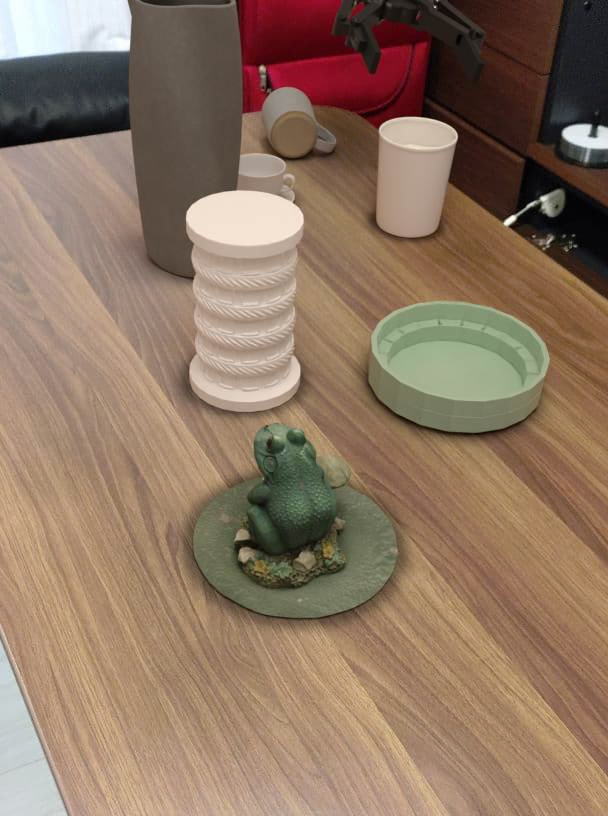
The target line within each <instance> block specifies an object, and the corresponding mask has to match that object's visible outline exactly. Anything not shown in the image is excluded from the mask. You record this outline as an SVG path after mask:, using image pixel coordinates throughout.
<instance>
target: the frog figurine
mask: <svg viewBox="0 0 608 816" xmlns="http://www.w3.org/2000/svg"><path fill="white" fill-rule="evenodd" d="M253 457H254V460H255V462H256V465H257V468H258V470H259V472H260V473H261V474H262V476H261V477H256V478H251V479H248V480H246V481H242V482H241V483H238V484H236V485H234V486H233V487H230V488H228V489H227V490H225V491H223V492H221V493H220V494H219V495H217V496H216V497H215V498H214V499H213V500H212V501H211V502H210V503H209V504H208V505H207V506H206V507H205V508H204V510H203V511H202V512H201V514H200V516H199V518H198V520H197V522H196V524H195V527H194V530H193V536H192V550H193V555H194V559H195V561H196V563H197V566H198V567H199V570H200V571H201V573H202V574H203V576H204V578H206V580H207V581H208V583H209V584H210V585H211V586H212V587H214V588H215V590H217V592H219V593H220V594H222V595H223V596H224V597H226V598H228V599H229V600H231V601H233V602H235V603H236V604H238V605H241V606H243V607H245V608H246V609H249V610H251V611H253V612H255V613H259V614H262V615H266V616H273V617H280V618H281V617H282V618H291V619H293V618H294V619H311V618H312V619H314V618H322V617H327V616H332V615H335V614H338V613H339V614H340V613H342V612H346V611H348V610H351V609H354V608H356V607H357V606H360V605H362V604H364V603H365V602H367V601H368V600H370V599H371V598H373V597H374V596H375V595H376V594H378V593H379V592H380V591H381V590H382V588H383V587H384V586H385V584H386V583H387V582H388V580H389V579H390V577H391V576H392V575H393V572H394V571H395V567H396V564H397V561H398V558H399V547H398V541H397V534H396V532H395V528H394V526H393V524H392V521H391V520H390V518H389V517H388V516H387V515H386V514H385V512H384V511H383V509H381V507H379V505H378V504H376V503H375V501H373V500H372V499H370V497H367V496H366V495H365V494H364V493H362V492H360V491H358V490H357V489H355V488H352V487H351V486H349V485H347V483H348V482H349V481H350V478H351V476H352V470H351V466H350V464H348V463H347V462H346V461H345V460H344V459H342V457H340V456H338V455H336V454H332V453H321V454H318V455H317V451H316V448H315V446H314V444H313V443H311V441H310V440H309V439H308V438H307V437H306V434H305V432H304V431H303V430H302V429H301V428H297V427H292V426H289V425H288V426H287V425H285V424H284V425H283V424H281V423H279V422H273V423H270V424H264V425H263V426H261V428H259V429H258V430H257V432H256V434H255V436H254V439H253Z"/></svg>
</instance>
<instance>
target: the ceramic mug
mask: <svg viewBox="0 0 608 816" xmlns="http://www.w3.org/2000/svg"><path fill="white" fill-rule="evenodd" d="M260 114H261V115H260V117H261V122H262V125H263V128H264V130H265V134H266V135H267V139H268V142H269V144H270V146H271V147H272V148H273V150H274V151H275V152H276V153H278V154H279V155H280V156H282V157H284V158H287V159H297V158H301V157H304V156H305V155H307V154H308V153H310V152H311V151H312V149H315V150H317V151H319V152H322V153H326V154H328V153H329V154H330V153H331V152H333V150H334V148H335V146H336V145H337V139H336V137H335V136H334V134H332V133H331V132H330V131H329V130H328V129H327V128H325V126H322V125H321V124H320V123H318V122H317V119H316V117H315V112H314V108H313V105H312V103H311V101H310V99H309V97H308V96H307V95H306V93H304V92H303V91H302V90H300V89H298V88H296V87H292V86H285V87H280V88H276V89H275V90H273V91H272V92H271V93H269V95H267V97H266V98H265V100H264V102H263V104H262V107H261V112H260Z"/></svg>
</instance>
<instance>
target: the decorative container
mask: <svg viewBox="0 0 608 816" xmlns="http://www.w3.org/2000/svg"><path fill="white" fill-rule="evenodd" d="M304 217H305V216H304V214H303V212H302V210H301V208H300V207H298V206H297V205H296V204H295V203H294V202H291V201H289V200H286V199H284V198H282V197H280V196H276V195H273V194H269V193H264V192H258V191H240V190H238V191H227V192H221V193H217V194H212V195H209V196H207V197H204V198H202V199H200V200H198V201H197V202H195V203H194V204H192V205H191V207H190V208H189V209H188V211H187V215H186V232H187V234H188V236H189V239H190V240H191V241H192V242H193V243H194V246H193V250H192V254H191V260H192V264H193V267H194V269H195V272H196V275H195V276H194V278H193V281H192V293H193V296H194V299H195V302H196V304H195V308H194V311H193V321H194V323H195V328H196V330H197V332H196V336H195V339H194V348H195V352H196V354H194V356H193V358H192V359H191V361H190V363H189V369H188V370H189V371H188V373H189V384H190V387H191V389H192V391H193V392H194V393H195V395H196V396H197V397H198V398H199V399H201V400H202V401H203V402H205V403H207V404H208V405H210V406H212V407H213V406H214V407H215V408H218V409H220V410H225V411H230V412H235V413H254V412H259V411H260V412H261V411H267V410H270V409H273V408H276V407H279V406H281V405H283V404H284V403H286V402H288V401H289V400H291V399H292V398H293V396H294V395H295V394H297V392H298V390H299V387H300V385H301V365H300V362H299V360H298V359H297V357H296V356H295V355H294V351H295V346H296V343H295V338H294V337H295V336H294V333H293V331H294V330H295V329H294V328H295V327H296V326H295V323H297V322H296V319H297V316H296V314H297V313H296V308H295V306H294V303H295V300H296V297H297V294H298V293H297V291H298V287H297V285H298V283H297V278H296V277H295V276H296V275H295V273H296V271H297V269H298V265H299V262H298V261H299V259H300V258H299V257H298V255H299V253H298V248H297V244H299V243H300V242H301V240H302V238H303V236H304V229H305V228H304V226H305V223H304V222H305V221H304Z"/></svg>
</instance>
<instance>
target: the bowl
mask: <svg viewBox="0 0 608 816" xmlns="http://www.w3.org/2000/svg"><path fill="white" fill-rule="evenodd" d="M550 363H551V359H550V355H549V352H548V348H547V344H546V343H545V342H544V340H543V339H542V337H540V336H539V334H538V333H537V332H536V331H535V329H533V328H532V327H530V326H529V325H527V324H526V323H524V322H523V321H522V320H520V319H518V318H517V317H515V316H513V315H511V314H508V313H505V312H503V311H501V310H498V309H496V308H495V307H494V308H493V307H491V306H487V305H481V304H477V303H472V302H467V301H454V300H434V301H426V302H418V303H413V304H410V305H406V306H404V307H401V308H398V309H395V310H393V311H391V313H389V314H388V315H386V316H385V317H384V318H382V319H381V320H379V322H378V323H377V324H376V325H375V328H374V329H373V331H372V334H371V335H370V343H369V353H368V361H367V378H368V381H367V382H368V384H369V386H370V387H371V390H372V391H373V393H374V394H375V396H376V397H377V399H378V400H379V401H380V402H382V404H384V405H385V406H386V407H388V409H390V410H391V411H392V412H393V413H395V414H396V415H398V416H401V417H403V418H405V419H407V420H409V421H411V422H413V423H416V424H418V425H420V426H423V427H427V428H431V429H436V430H440V431H444V432H449V433H451V432H452V433H473V434H476V433H477V434H478V433H484V432H485V433H486V432H492V431H498V430H502V429H503V430H504V429H506V428H508V427H510V426H512V425H515V424H517V423H519V422H522V421H524V420H525V419H526V418H527V417H528V416H529V415H530V414H531V413H532V412H534V410H535V409H537V407H538V406H539V403H540V400H541V396H542V392H543V389H544V385H545V383H546V378H547V375H548V370H549V368H550Z"/></svg>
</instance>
